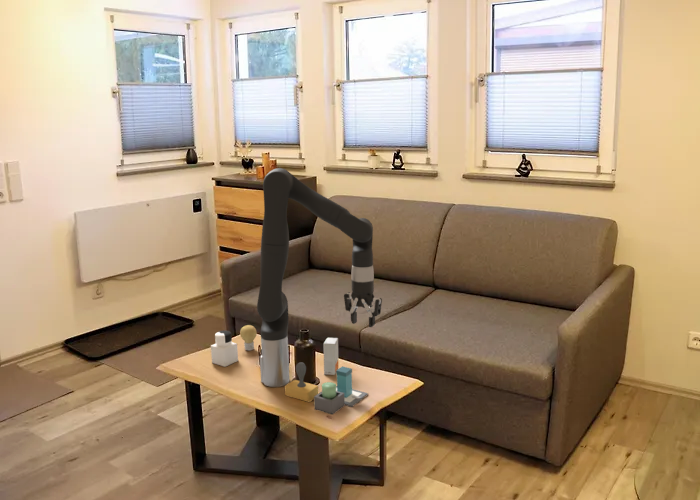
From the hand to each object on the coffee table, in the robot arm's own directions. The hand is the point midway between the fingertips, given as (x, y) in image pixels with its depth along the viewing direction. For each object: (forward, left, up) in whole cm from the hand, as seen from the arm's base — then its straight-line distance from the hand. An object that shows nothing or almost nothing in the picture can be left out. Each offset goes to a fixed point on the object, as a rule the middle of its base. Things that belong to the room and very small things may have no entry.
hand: (362, 324), depth 225 cm
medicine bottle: (-55, -11, -22) cm, 60 cm away
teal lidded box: (0, -13, -21) cm, 24 cm away
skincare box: (-15, +2, -22) cm, 26 cm away
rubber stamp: (-13, -19, -22) cm, 32 cm away
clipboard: (0, -13, -21) cm, 25 cm away
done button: (0, -22, -18) cm, 28 cm away
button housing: (0, -22, -21) cm, 30 cm away
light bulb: (-55, +3, -22) cm, 59 cm away
